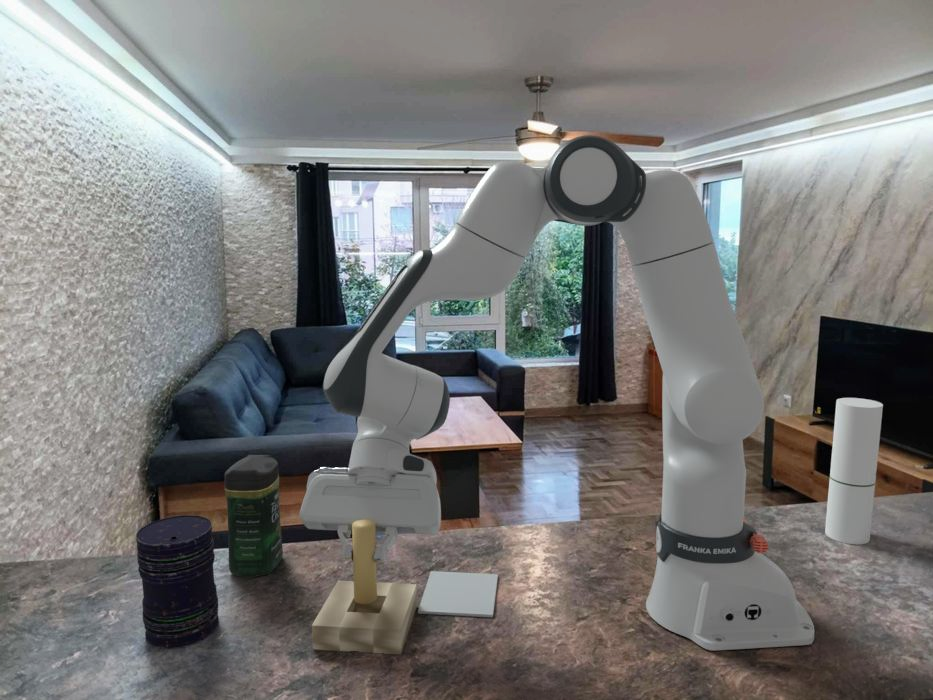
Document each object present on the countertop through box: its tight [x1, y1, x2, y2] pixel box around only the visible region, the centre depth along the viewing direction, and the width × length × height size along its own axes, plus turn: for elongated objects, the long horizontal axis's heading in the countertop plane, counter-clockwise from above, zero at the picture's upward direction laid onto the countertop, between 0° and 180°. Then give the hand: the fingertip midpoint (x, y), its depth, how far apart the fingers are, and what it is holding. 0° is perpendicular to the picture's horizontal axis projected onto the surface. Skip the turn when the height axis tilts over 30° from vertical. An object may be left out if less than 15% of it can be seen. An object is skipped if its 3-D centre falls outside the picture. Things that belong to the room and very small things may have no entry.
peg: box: [351, 519, 378, 604], centre depth 95 cm, size 3×3×11 cm
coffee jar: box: [223, 454, 284, 578], centre depth 113 cm, size 10×8×19 cm
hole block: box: [311, 580, 418, 655], centre depth 97 cm, size 12×12×4 cm
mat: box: [417, 570, 499, 618], centre depth 105 cm, size 11×12×1 cm
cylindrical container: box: [824, 397, 884, 546], centre depth 123 cm, size 7×7×25 cm
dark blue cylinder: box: [135, 514, 220, 650], centre depth 95 cm, size 10×10×15 cm
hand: (363, 560), depth 95 cm, fingers closed on peg, 3 cm apart
